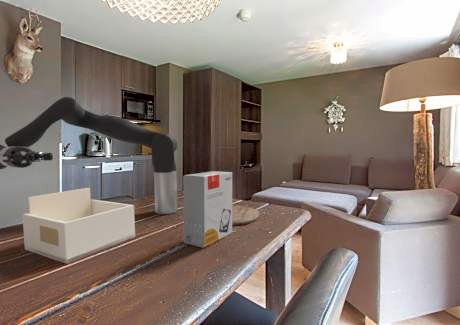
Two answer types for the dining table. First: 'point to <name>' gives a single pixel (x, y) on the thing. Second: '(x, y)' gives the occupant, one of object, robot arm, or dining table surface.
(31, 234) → the carton
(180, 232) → the dining table surface
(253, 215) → the trivet
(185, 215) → the hard drive box
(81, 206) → the flap
